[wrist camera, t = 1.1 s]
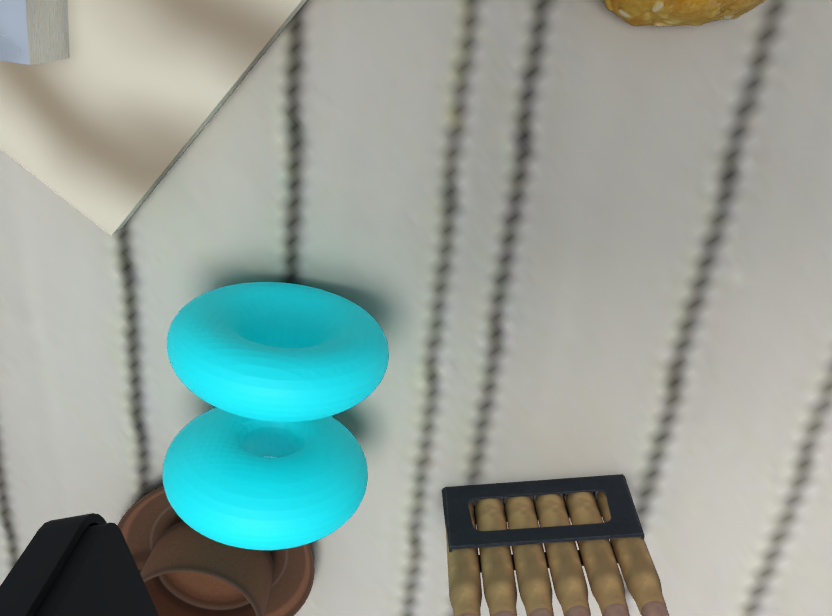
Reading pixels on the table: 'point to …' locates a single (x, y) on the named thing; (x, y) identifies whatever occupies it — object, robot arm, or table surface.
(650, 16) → the bagel
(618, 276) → the table surface
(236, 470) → the donuts
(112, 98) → the beige wavy cloth
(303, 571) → the cup and saucer
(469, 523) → the ammunition clip
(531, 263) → the table surface
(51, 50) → the silver metal cube
